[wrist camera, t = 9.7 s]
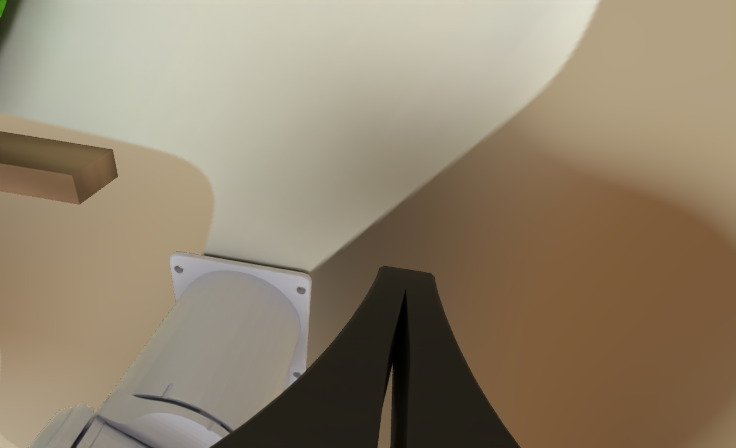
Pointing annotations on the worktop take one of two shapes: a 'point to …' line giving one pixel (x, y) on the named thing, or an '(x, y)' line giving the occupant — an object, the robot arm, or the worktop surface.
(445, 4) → the worktop surface
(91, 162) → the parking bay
